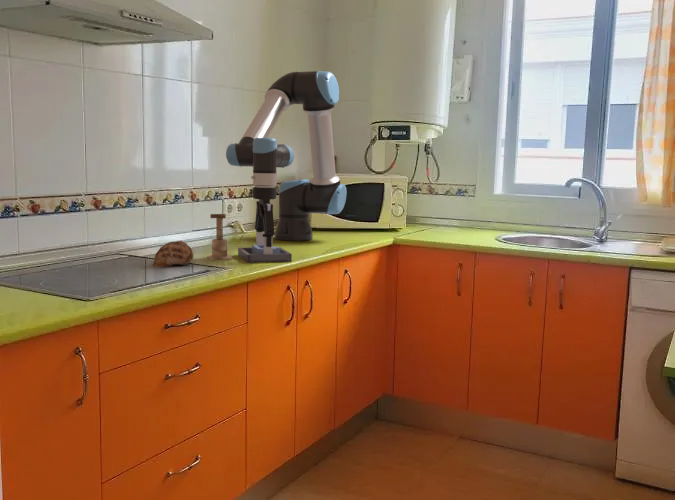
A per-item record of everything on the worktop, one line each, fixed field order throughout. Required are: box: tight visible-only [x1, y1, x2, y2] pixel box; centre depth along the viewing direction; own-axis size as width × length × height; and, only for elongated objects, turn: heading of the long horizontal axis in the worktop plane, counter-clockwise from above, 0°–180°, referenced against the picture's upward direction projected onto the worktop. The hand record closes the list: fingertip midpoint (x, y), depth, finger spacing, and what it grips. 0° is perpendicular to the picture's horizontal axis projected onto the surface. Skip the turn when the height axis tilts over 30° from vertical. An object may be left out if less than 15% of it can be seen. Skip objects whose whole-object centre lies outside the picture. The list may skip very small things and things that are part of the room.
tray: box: [237, 246, 293, 264], centre depth 234 cm, size 14×17×2 cm
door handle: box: [206, 213, 233, 261], centre depth 232 cm, size 7×7×14 cm
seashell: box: [152, 240, 194, 268], centre depth 218 cm, size 10×9×10 cm
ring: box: [251, 244, 282, 254], centre depth 234 cm, size 10×8×3 cm
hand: (264, 254), depth 234 cm, fingers open, 11 cm apart
